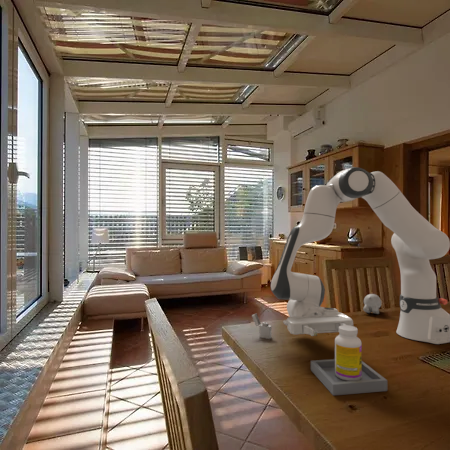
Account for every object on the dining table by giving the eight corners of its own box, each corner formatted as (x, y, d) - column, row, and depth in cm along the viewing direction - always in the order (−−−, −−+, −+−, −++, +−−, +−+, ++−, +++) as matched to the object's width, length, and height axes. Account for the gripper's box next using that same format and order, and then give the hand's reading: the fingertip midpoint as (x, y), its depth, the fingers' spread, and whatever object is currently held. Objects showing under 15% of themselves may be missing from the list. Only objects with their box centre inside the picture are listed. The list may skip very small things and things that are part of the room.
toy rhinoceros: (384, 317, 154) (385, 299, 156) (378, 313, 145) (380, 293, 147) (367, 314, 158) (369, 296, 160) (360, 310, 149) (362, 291, 152)
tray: (357, 366, 97) (357, 357, 97) (387, 390, 83) (387, 380, 83) (310, 370, 95) (310, 360, 95) (333, 395, 81) (333, 384, 81)
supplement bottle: (364, 383, 85) (364, 332, 85) (336, 381, 86) (336, 331, 86) (358, 371, 92) (358, 324, 91) (333, 369, 93) (333, 323, 93)
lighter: (271, 337, 122) (271, 315, 121) (269, 339, 120) (269, 316, 120) (253, 334, 125) (253, 312, 125) (251, 335, 124) (251, 313, 124)
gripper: (281, 310, 111) (295, 323, 97) (340, 308, 113) (362, 319, 100) (281, 330, 111) (295, 345, 97) (340, 326, 113) (362, 341, 100)
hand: (330, 332), depth 98 cm, fingers open, 8 cm apart
